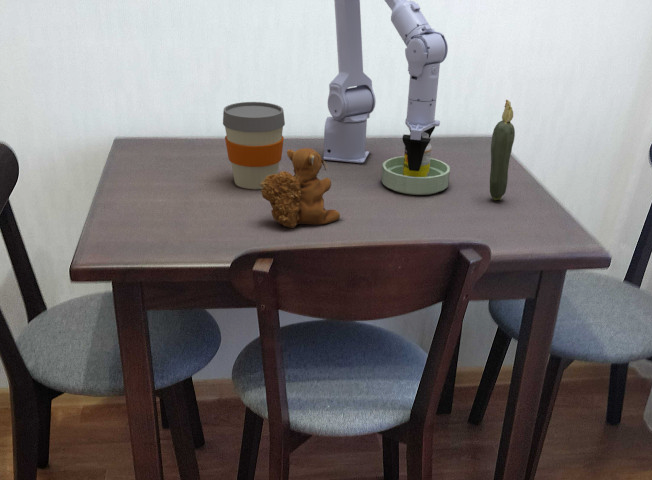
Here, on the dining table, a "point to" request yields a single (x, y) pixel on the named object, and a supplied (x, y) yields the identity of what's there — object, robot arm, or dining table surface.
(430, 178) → the bowl
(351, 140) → the robot arm
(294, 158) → the stuffed squirrel
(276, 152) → the reusable coffee cup
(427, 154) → the supplement bottle
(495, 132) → the vegetable
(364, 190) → the dining table surface
